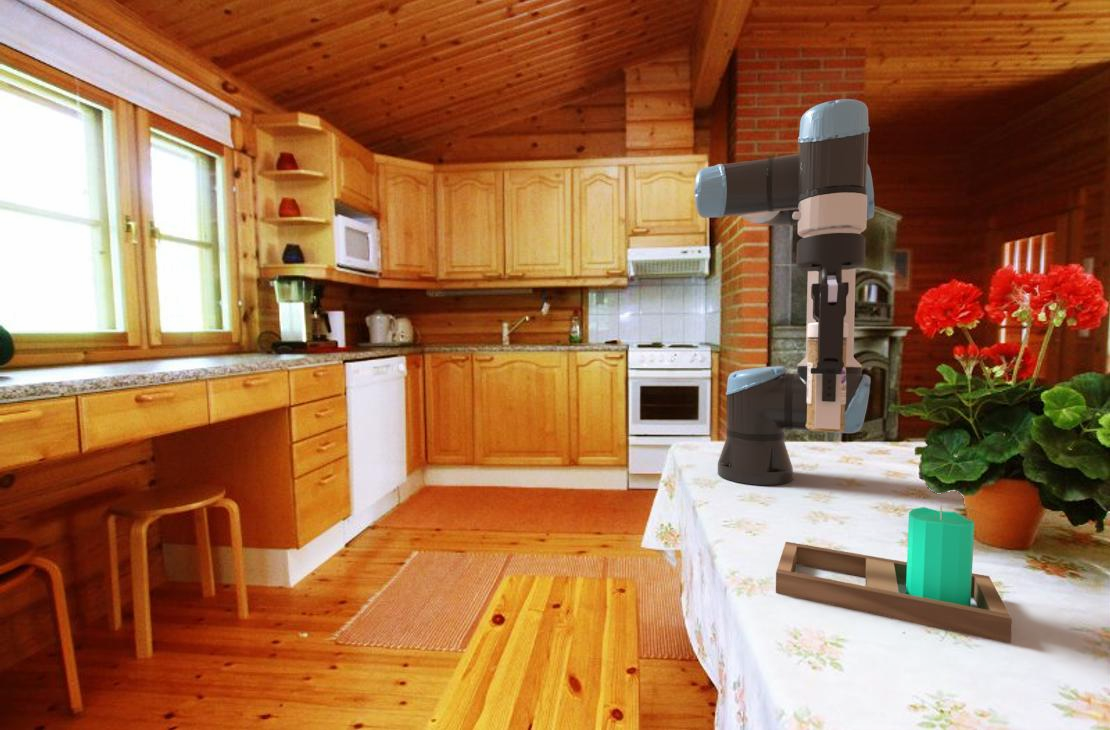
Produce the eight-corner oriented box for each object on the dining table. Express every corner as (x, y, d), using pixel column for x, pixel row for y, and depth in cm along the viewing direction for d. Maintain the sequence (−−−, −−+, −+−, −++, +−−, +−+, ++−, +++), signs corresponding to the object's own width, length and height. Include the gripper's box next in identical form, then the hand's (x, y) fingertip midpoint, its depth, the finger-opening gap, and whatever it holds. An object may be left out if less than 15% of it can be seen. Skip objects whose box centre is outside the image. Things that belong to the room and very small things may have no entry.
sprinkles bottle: (835, 434, 64) (838, 321, 63) (798, 429, 67) (800, 322, 67) (852, 430, 67) (855, 322, 66) (815, 425, 70) (817, 323, 70)
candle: (973, 626, 57) (978, 515, 56) (906, 610, 60) (910, 506, 59) (966, 601, 62) (971, 499, 61) (904, 588, 65) (908, 491, 64)
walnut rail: (785, 559, 74) (785, 541, 74) (988, 596, 63) (989, 576, 63) (775, 592, 65) (776, 572, 64) (1010, 642, 54) (1011, 618, 54)
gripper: (796, 249, 75) (793, 414, 76) (797, 225, 59) (793, 434, 61) (857, 245, 72) (853, 417, 73) (875, 218, 56) (869, 439, 57)
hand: (825, 424), depth 67 cm, fingers closed on sprinkles bottle, 4 cm apart
